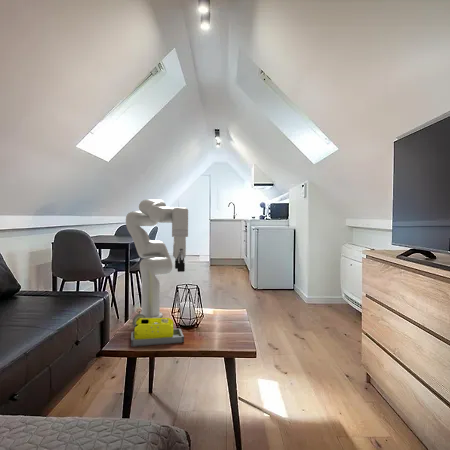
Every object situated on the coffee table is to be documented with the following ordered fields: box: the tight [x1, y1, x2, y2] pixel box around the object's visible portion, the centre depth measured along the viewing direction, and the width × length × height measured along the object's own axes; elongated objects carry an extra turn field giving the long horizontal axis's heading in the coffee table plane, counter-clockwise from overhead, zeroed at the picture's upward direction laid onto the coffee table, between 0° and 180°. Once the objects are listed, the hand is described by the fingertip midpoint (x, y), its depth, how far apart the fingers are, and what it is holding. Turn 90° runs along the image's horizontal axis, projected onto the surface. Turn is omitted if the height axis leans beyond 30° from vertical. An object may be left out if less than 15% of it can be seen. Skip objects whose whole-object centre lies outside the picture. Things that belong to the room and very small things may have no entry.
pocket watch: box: [132, 308, 145, 328], centre depth 164 cm, size 8×8×10 cm
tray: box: [130, 328, 185, 347], centre depth 153 cm, size 12×22×2 cm, turn 105°
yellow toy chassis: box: [134, 317, 174, 339], centre depth 152 cm, size 16×6×8 cm, turn 96°
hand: (179, 270), depth 166 cm, fingers open, 9 cm apart
